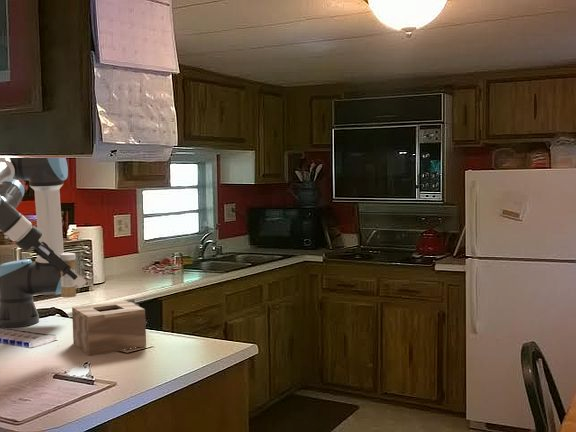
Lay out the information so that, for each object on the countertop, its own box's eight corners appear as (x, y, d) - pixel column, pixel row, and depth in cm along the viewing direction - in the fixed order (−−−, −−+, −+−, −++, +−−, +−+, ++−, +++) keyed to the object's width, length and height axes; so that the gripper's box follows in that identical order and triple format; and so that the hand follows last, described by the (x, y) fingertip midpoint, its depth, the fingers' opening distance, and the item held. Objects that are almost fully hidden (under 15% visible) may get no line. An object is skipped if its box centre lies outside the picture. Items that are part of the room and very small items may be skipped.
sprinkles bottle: (63, 295, 215) (62, 252, 214) (77, 295, 216) (77, 252, 215) (59, 298, 211) (58, 254, 210) (74, 297, 211) (73, 254, 210)
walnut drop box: (73, 343, 224) (72, 307, 223) (127, 335, 233) (125, 300, 232) (89, 355, 208) (88, 316, 208) (146, 346, 218) (145, 309, 217)
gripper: (9, 240, 212) (65, 288, 221) (19, 245, 197) (79, 297, 206) (27, 222, 214) (82, 271, 224) (38, 226, 199) (97, 278, 209)
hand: (80, 283), depth 215 cm, fingers closed on sprinkles bottle, 4 cm apart
